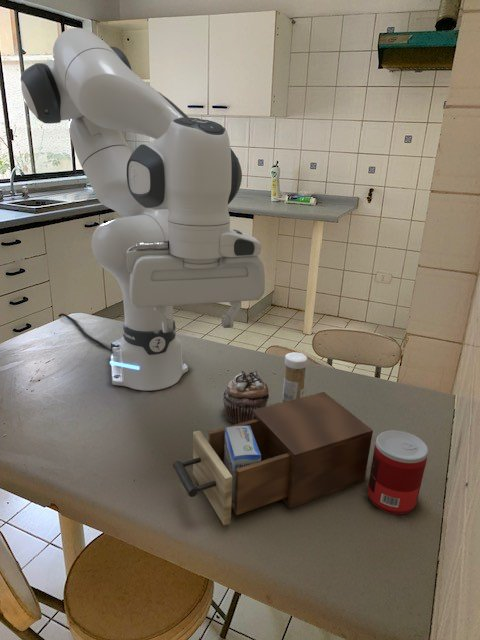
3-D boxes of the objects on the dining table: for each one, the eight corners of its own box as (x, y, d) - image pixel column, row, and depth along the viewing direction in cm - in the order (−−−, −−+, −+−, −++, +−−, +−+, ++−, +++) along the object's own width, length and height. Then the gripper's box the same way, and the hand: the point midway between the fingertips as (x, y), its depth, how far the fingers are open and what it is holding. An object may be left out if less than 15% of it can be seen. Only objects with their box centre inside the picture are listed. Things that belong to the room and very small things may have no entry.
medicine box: (222, 468, 80) (224, 426, 76) (248, 466, 80) (250, 423, 77) (231, 502, 72) (233, 456, 69) (259, 498, 73) (262, 453, 70)
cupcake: (256, 400, 104) (258, 360, 101) (274, 423, 96) (277, 381, 92) (215, 406, 101) (216, 365, 98) (230, 431, 93) (232, 388, 89)
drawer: (195, 536, 67) (195, 488, 64) (167, 482, 78) (166, 438, 74) (303, 496, 76) (308, 452, 72) (265, 452, 86) (268, 411, 83)
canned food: (426, 510, 75) (439, 455, 71) (383, 520, 73) (394, 463, 69) (398, 479, 82) (409, 426, 78) (358, 486, 80) (367, 433, 75)
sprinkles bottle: (306, 413, 100) (312, 358, 95) (289, 419, 98) (295, 362, 93) (292, 403, 104) (297, 349, 99) (276, 409, 101) (280, 354, 96)
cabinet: (289, 509, 74) (294, 455, 70) (249, 458, 85) (252, 409, 81) (364, 481, 81) (373, 430, 77) (318, 437, 92) (324, 391, 88)
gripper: (126, 247, 61) (131, 343, 66) (271, 243, 67) (265, 331, 72) (123, 237, 66) (127, 326, 72) (257, 234, 72) (252, 316, 78)
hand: (198, 328), depth 72 cm, fingers open, 8 cm apart
